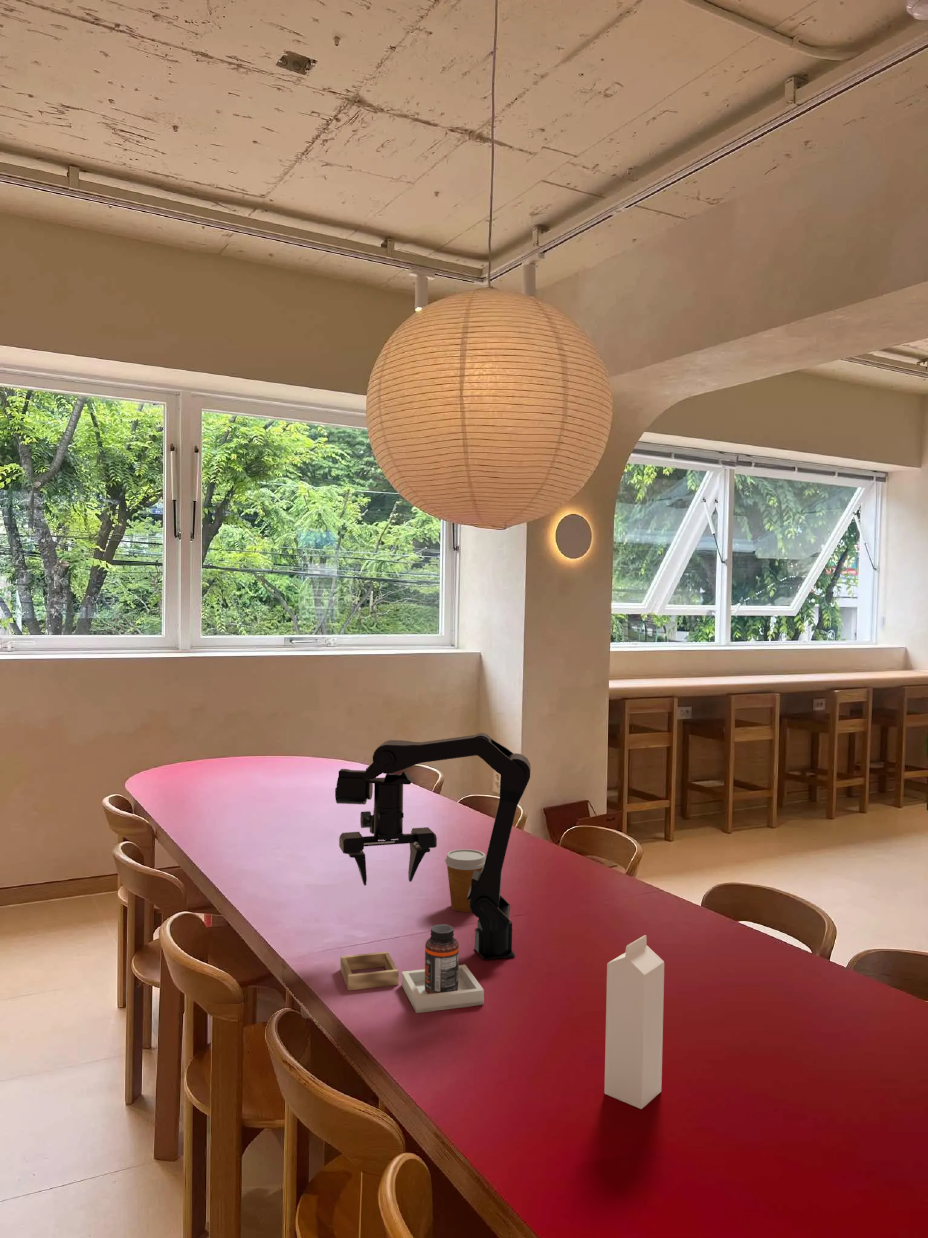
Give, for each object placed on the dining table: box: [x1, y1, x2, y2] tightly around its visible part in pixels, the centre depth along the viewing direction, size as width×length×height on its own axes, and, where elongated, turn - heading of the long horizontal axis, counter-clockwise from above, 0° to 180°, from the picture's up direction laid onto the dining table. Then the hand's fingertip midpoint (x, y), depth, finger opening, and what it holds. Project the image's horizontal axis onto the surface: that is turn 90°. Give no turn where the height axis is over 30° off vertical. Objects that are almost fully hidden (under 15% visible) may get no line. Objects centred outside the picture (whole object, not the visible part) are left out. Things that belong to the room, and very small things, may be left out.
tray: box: [401, 964, 485, 1014], centre depth 157 cm, size 12×11×2 cm
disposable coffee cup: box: [444, 848, 486, 913], centre depth 201 cm, size 10×10×12 cm
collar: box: [339, 951, 400, 991], centre depth 164 cm, size 9×9×2 cm
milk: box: [604, 934, 665, 1110], centre depth 127 cm, size 6×6×22 cm
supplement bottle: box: [424, 923, 460, 994], centre depth 157 cm, size 6×6×11 cm
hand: (387, 883), depth 177 cm, fingers open, 9 cm apart
